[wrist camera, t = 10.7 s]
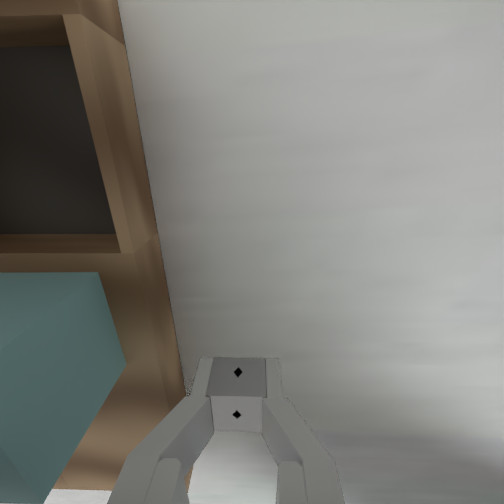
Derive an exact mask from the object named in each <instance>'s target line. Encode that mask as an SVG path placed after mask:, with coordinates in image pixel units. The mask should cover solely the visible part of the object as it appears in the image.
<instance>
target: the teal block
mask: <svg viewBox="0 0 504 504" xmlns="http://www.w3.org/2000/svg"><path fill="white" fill-rule="evenodd" d="M126 365H127V364H126V361H125V357H124V354H123V351H122V348H121V344H120V341H119V338H118V335H117V332H116V328H115V325H114V322H113V319H112V315H111V312H110V309H109V306H108V303H107V299H106V296H105V293H104V290H103V286H102V283H101V280H100V277H99V273H98V272H39V273H0V503H14V504H43V503H44V501H45V500H46V498H47V496H48V495H49V493H50V491H51V490H52V488H53V486H54V485H55V483H56V481H57V480H58V478H59V476H60V475H61V473H62V471H63V470H64V468H65V466H66V465H67V463H68V461H69V460H70V458H71V456H72V455H73V453H74V451H75V450H76V448H77V446H78V445H79V443H80V441H81V440H82V438H83V436H84V435H85V433H86V431H87V430H88V428H89V426H90V425H91V423H92V421H93V420H94V418H95V416H96V415H97V413H98V411H99V410H100V408H101V406H102V405H103V403H104V401H105V400H106V398H107V396H108V395H109V393H110V391H111V390H112V388H113V386H114V385H115V383H116V381H117V380H118V378H119V376H120V375H121V373H122V371H123V370H124V368H125V366H126Z"/></svg>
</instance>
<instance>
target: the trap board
mask: <svg viewBox="0 0 504 504" xmlns="http://www.w3.org/2000/svg"><path fill="white" fill-rule="evenodd" d="M39 272H98V273H99V277H100V280H101V283H102V286H103V290H104V293H105V296H106V299H107V303H108V306H109V309H110V312H111V315H112V319H113V322H114V325H115V328H116V332H117V335H118V338H119V341H120V344H121V348H122V351H123V354H124V357H125V361H126V364H127V365H126V366H125V368H124V370H123V371H122V373H121V375H120V376H119V378H118V380H117V381H116V383H115V385H114V386H113V388H112V390H111V391H110V393H109V395H108V396H107V398H106V400H105V401H104V403H103V405H102V406H101V408H100V410H99V411H98V413H97V415H96V416H95V418H94V420H93V421H92V423H91V425H90V426H89V428H88V430H87V431H86V433H85V435H84V436H83V438H82V440H81V441H80V443H79V445H78V446H77V448H76V450H75V451H74V453H73V455H72V456H71V458H70V460H69V461H68V463H67V465H66V466H65V468H64V470H63V471H62V473H61V475H60V476H59V478H58V480H57V481H56V483H55V485H54V486H53V488H52V489H78V490H111V491H113V488H114V486H115V484H116V481H117V479H118V477H119V474H120V472H121V469H122V467H123V465H124V462H125V460H126V458H127V455H128V454H129V453H130V452H131V451H132V450H133V449H134V448H135V447H136V446H137V445H138V444H139V443H140V442H141V441H142V440H143V439H144V438H145V437H146V436H147V435H148V434H149V433H150V432H151V431H152V430H153V429H154V428H155V427H156V426H157V425H158V424H159V423H160V422H161V421H162V420H163V419H164V418H165V417H166V416H167V415H168V414H169V412H170V411H171V410H172V409H173V408H174V407H175V406H176V405H177V404H178V403H179V402H180V401H181V400H182V399H183V398H184V397H185V396H186V391H185V385H184V380H183V374H182V368H181V362H180V357H179V351H178V345H177V340H176V334H175V328H174V322H173V317H172V311H171V305H170V300H169V294H168V288H167V282H166V277H165V271H164V265H163V259H162V254H161V248H160V242H159V237H158V231H157V225H156V219H155V214H154V208H153V202H152V197H151V191H150V185H149V179H148V174H147V168H146V162H145V156H144V151H143V145H142V139H141V134H140V128H139V122H138V116H137V111H136V105H135V99H134V93H133V88H132V82H131V76H130V71H129V65H128V59H127V53H126V48H125V42H124V36H123V31H122V25H121V19H120V13H119V8H118V2H117V0H0V273H39ZM192 469H193V466H192V467H191V469H190V470H189V472H188V473H187V475H186V476H185V478H184V480H185V485H186V489H187V493H188V489H189V484H190V479H191V474H192Z"/></svg>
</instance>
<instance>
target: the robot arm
mask: <svg viewBox="0 0 504 504" xmlns="http://www.w3.org/2000/svg"><path fill="white" fill-rule="evenodd" d="M214 431H242V432H260V433H262V436H263V438H264V440H265V442H266V444H267V446H268V448H269V449H270V451H271V453H272V455H273V457H274V459H275V461H276V463H277V465H278V478H277V492H276V504H345V502H344V497H343V493H342V489H341V485H340V481H339V476H338V472H337V468H336V464H335V461H334V459H333V458H332V457H331V456H330V454H329V453H328V452H327V450H326V449H325V448H324V446H323V445H322V444H321V442H320V441H319V440H318V438H317V437H316V436H315V434H314V433H313V432H312V430H311V429H310V428H309V426H308V425H307V424H306V423H305V421H304V420H303V419H302V417H301V416H300V415H299V413H298V412H297V411H296V409H295V408H294V407H293V405H292V404H291V403H290V401H289V400H288V399H287V398H283V393H282V383H281V372H280V362H279V359H278V358H228V357H201V358H200V360H199V363H198V367H197V371H196V374H195V378H194V382H193V385H192V389H191V393H190V396H185V397H184V398H183V399H182V400H181V401H180V402H179V403H178V404H177V405H176V406H175V407H174V408H173V409H172V410H171V411H170V412H169V414H168V415H167V416H166V417H165V418H164V419H163V420H162V421H161V422H160V423H159V424H158V425H157V426H156V427H155V428H154V429H153V430H152V431H151V432H150V433H149V434H148V435H147V436H146V437H145V438H144V439H143V440H142V441H141V442H140V443H139V444H138V445H137V446H136V447H135V448H134V449H133V450H132V451H131V452H130V453H129V454H128V455H127V458H126V460H125V462H124V465H123V467H122V469H121V472H120V474H119V477H118V479H117V481H116V484H115V486H114V488H113V491H112V493H111V495H110V498H109V500H108V503H107V504H190V503H189V499H188V494H187V489H186V485H185V480H184V478H185V476H186V475H187V473H188V472H189V470H190V469H191V467H192V466H193V464H194V463H195V461H196V460H197V458H198V457H199V455H200V453H201V452H202V450H203V449H204V447H205V446H206V444H207V443H208V441H209V440H210V438H211V437H212V435H213V434H214Z"/></svg>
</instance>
